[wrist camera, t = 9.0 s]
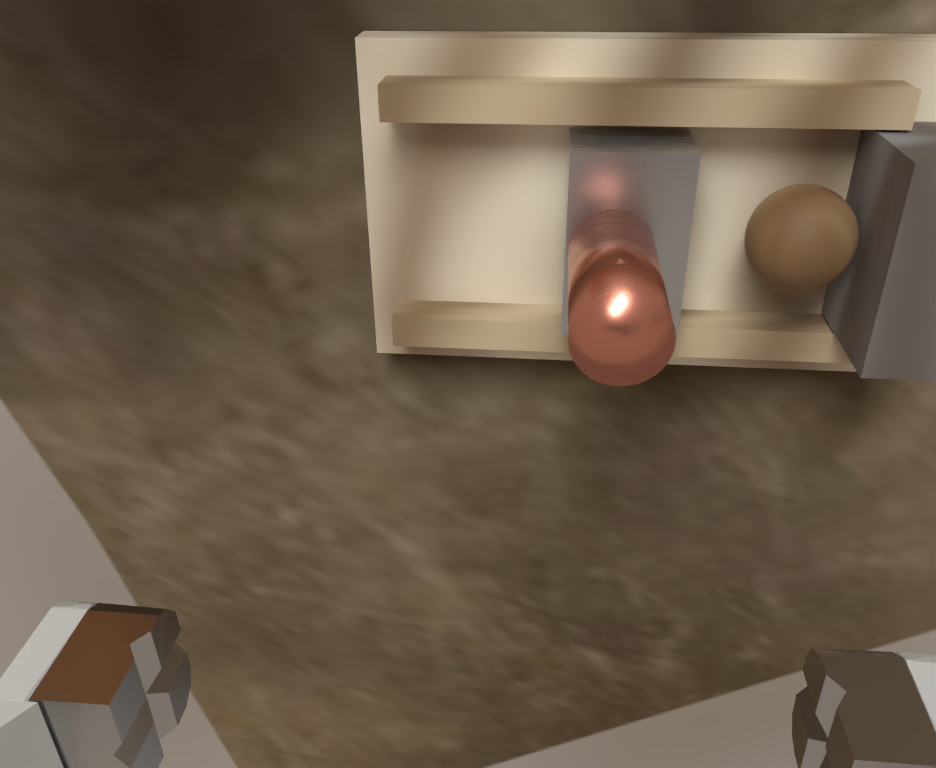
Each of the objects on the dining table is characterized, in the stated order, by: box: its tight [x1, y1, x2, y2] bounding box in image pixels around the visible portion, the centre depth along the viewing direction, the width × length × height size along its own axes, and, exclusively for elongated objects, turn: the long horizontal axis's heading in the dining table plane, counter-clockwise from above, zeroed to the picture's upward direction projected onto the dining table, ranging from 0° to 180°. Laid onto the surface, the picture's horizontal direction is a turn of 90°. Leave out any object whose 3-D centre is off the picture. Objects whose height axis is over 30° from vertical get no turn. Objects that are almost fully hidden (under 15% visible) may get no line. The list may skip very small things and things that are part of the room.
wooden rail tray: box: [355, 31, 936, 381], centre depth 29 cm, size 20×12×6 cm, turn 90°
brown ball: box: [744, 184, 859, 292], centre depth 29 cm, size 4×4×4 cm
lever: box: [561, 128, 701, 386], centre depth 27 cm, size 4×6×10 cm, turn 0°
